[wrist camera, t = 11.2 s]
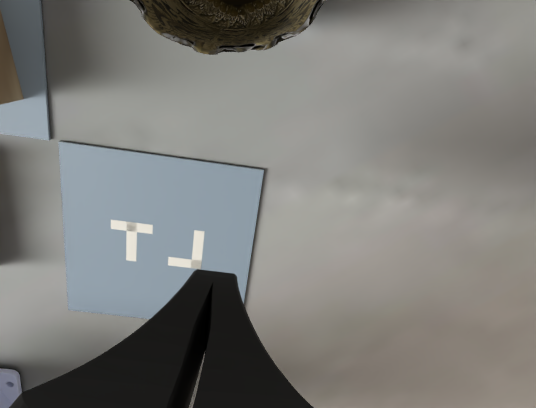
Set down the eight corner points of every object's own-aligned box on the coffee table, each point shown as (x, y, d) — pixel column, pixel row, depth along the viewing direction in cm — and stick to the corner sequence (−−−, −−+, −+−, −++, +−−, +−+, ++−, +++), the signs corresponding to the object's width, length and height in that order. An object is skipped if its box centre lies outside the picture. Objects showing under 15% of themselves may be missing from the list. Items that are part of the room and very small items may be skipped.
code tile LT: (240, 327, 25) (239, 329, 25) (69, 308, 25) (68, 310, 24) (264, 169, 21) (263, 170, 21) (60, 140, 20) (58, 141, 20)
